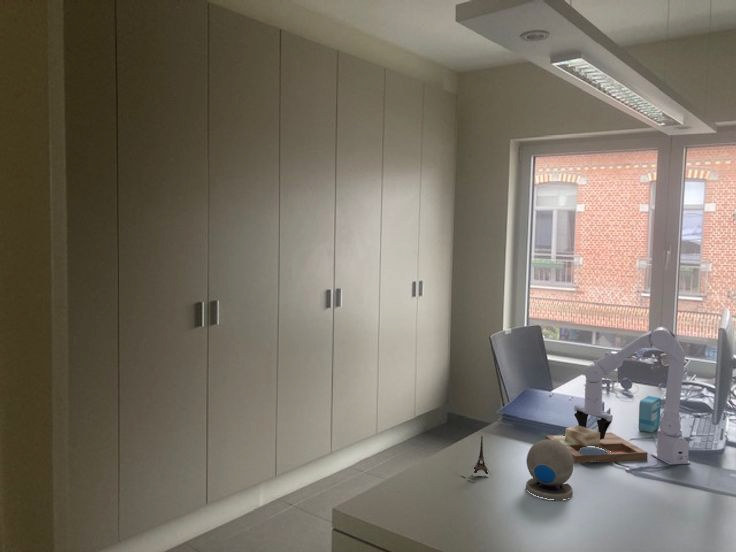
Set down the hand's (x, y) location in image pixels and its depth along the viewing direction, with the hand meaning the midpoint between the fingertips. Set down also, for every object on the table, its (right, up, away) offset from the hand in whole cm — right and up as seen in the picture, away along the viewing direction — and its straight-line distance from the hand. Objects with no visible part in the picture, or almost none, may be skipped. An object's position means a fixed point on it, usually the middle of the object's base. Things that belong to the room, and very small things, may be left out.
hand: (592, 435), depth 210 cm
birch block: (-4, -1, -3) cm, 5 cm away
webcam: (-27, -6, -39) cm, 48 cm away
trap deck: (-1, -4, -5) cm, 6 cm away
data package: (+30, -3, +21) cm, 37 cm away
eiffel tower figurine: (-45, -5, -26) cm, 52 cm away
